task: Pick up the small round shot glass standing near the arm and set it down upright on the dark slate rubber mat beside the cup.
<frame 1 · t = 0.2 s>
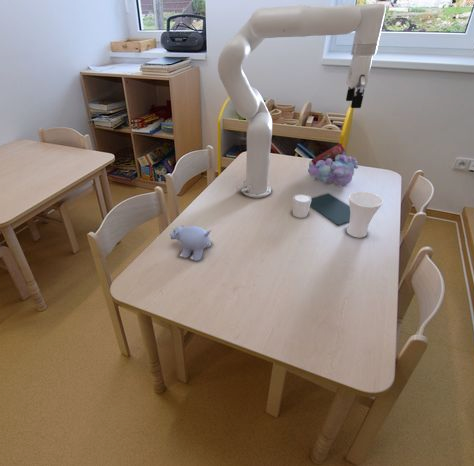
hand: (353, 104, 117), 37 cm above the table, tool pointing down, fingers open, 9 cm apart
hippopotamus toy: (191, 249, 112), on the table
pastel bubbly cloud: (328, 179, 151), on the table
cup: (356, 232, 116), on the table
shot glass: (299, 214, 128), on the table
mat: (332, 208, 130), on the table
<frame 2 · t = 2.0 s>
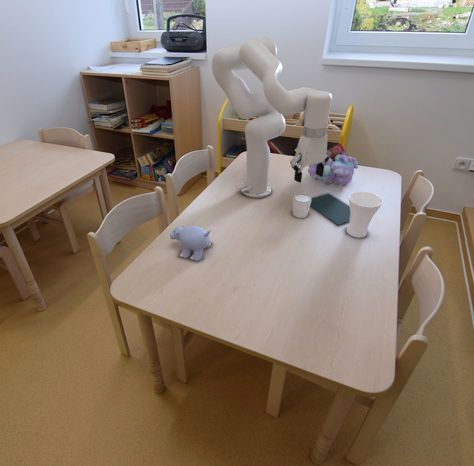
hand: (308, 178, 119), 15 cm above the table, tool pointing down, fingers open, 9 cm apart
nothing on the table moved.
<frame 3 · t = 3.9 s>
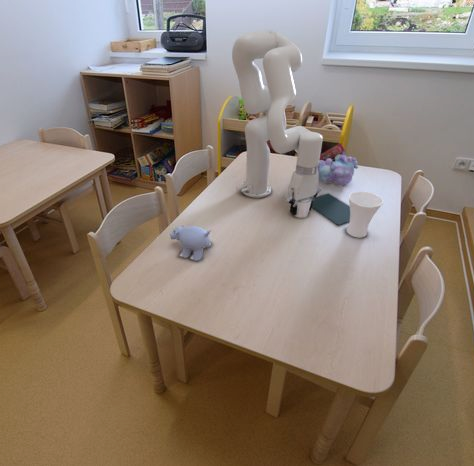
hand: (300, 211, 127), 1 cm above the table, tool pointing down, fingers closed on shot glass, 6 cm apart
shot glass: (300, 214, 128), on the table, touching gripper
everything else where it was.
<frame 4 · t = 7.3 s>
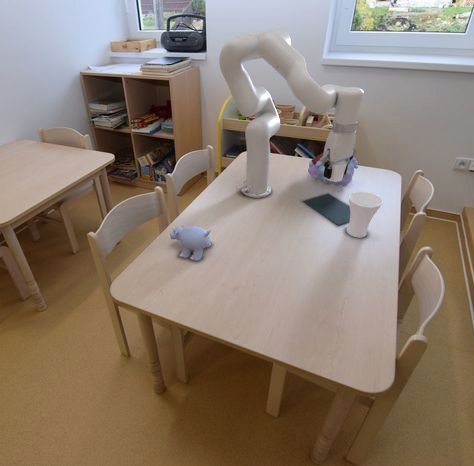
hand: (334, 175, 122), 14 cm above the table, tool pointing down, fingers closed on shot glass, 6 cm apart
shot glass: (333, 178, 123), point 13 cm above the table, touching gripper
everything else where it was.
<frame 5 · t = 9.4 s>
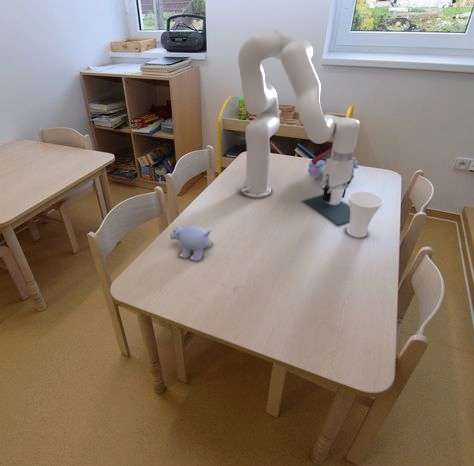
hand: (333, 198, 128), 4 cm above the table, tool pointing down, fingers closed on shot glass, 6 cm apart
shot glass: (332, 201, 129), point 3 cm above the table, touching gripper
everything else where it was.
when the fingers open (1 cm above the table, at t = 10.6 s): shot glass stays where it is, resting on mat.
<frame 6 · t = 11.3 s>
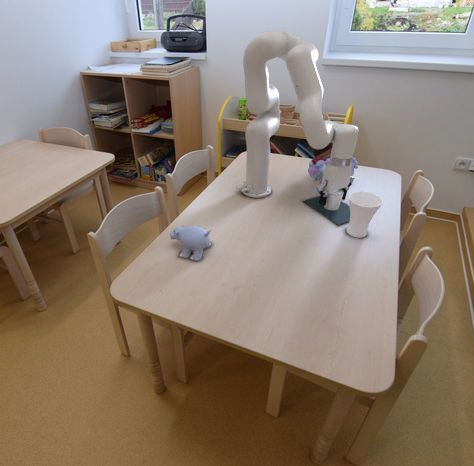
hand: (331, 201, 129), 3 cm above the table, tool pointing down, fingers open, 9 cm apart
shot glass: (331, 207, 130), resting on mat
everything else where it was.
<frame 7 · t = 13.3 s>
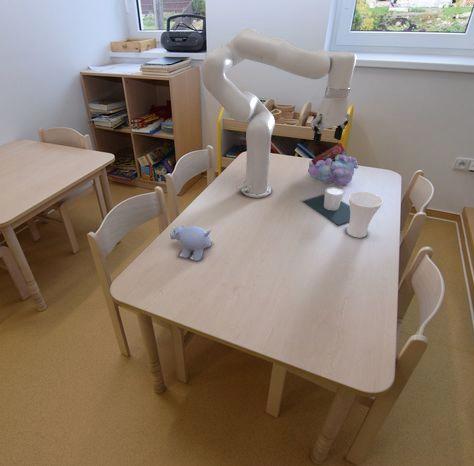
hand: (326, 141, 123), 24 cm above the table, tool pointing down, fingers open, 9 cm apart
nothing on the table moved.
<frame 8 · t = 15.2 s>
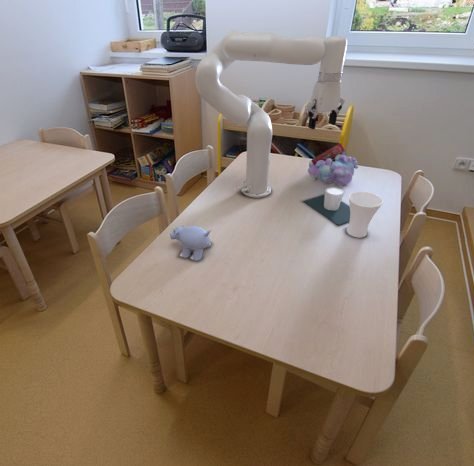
hand: (321, 126, 125), 28 cm above the table, tool pointing down, fingers open, 9 cm apart
nothing on the table moved.
at the end: shot glass inside the target area on the mat (1.0 cm from its centre), point 0.2 cm above the mat's base; shot glass tilted 0°; the gripper is holding nothing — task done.
